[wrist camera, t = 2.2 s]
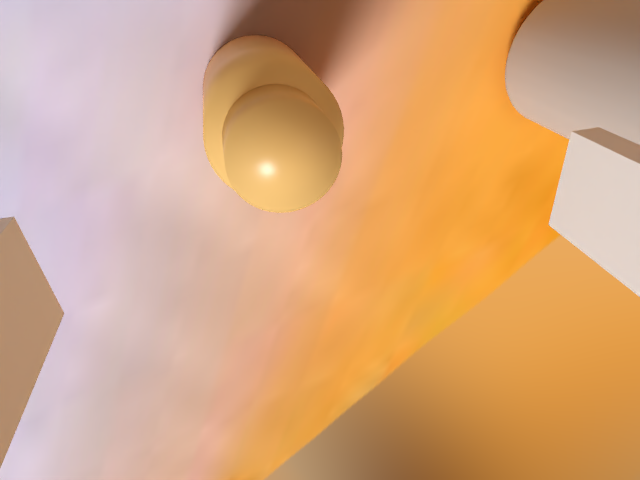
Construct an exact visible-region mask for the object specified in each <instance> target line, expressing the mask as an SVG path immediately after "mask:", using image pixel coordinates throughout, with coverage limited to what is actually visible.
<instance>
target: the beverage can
mask: <svg viewBox="0 0 640 480" xmlns="http://www.w3.org/2000/svg"><path fill="white" fill-rule="evenodd" d="M505 84H506V90H507V93H508V96H509V98H510V101H511V103H512V105H513V106H514V107H515V109H516V110H517V111H518V112H519V113H520V114H521V115H523V116H524V117H526V118H527V119H529V120H531V121H533V122H535V123H537V124H539V125H541V126H543V127H545V128H547V129H549V130H551V131H553V132H555V133H557V134H559V135H561V136H564V137H566V138H568V139H570V136H571V132H572V131H577V130H583V129H590V128H596V127H600V128H602V129H604V130H607V131H609V132H611V133H613V134H616V135H618V136H620V137H623V138H625V139H627V140H630V141H632V142H634V143H636V144H639V145H640V0H543V1H542V2H541V3H540V4H539V5H538V6H537V7H536V8H535V9H534V10H533V11H532V12H531V13H530V14H529V16H528V17H527V18H526V19H525V21H524V22H523V24H522V25H521V27H520V28H519V30H518V32H517V34H516V36H515V38H514V40H513V42H512V45H511V47H510V50H509V53H508V57H507V62H506V69H505Z"/></svg>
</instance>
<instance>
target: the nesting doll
mask: <svg viewBox="0 0 640 480" xmlns="http://www.w3.org/2000/svg"><path fill="white" fill-rule="evenodd" d="M343 137H344V126H343V118H342V114H341V110H340V108H339V105H338V103H337V101H336V99H335V97H334V96H333V94H332V93H331V91H330V90H329V89H328V87H327V86H326V85H325V84H324V83H323V82H322V81H321V80H320V79H319V78H318V77H317V76H316V75H315V74H314V72H313V71H312V70H311V69H310V68H309V67H308V66H307V65H306V64H305V63H304V62H303V61H302V60H301V59H300V57H299V56H298V55H297V54H296V53H295V52H294V51H293V50H292V49H291V48H290V47H288V46H287V45H286V44H284V43H282V42H281V41H279V40H277V39H274V38H272V37H268V36H263V35H248V36H242V37H239V38H236V39H234V40H232V41H230V42H228V43H227V44H225V45H224V46H222V47H221V48H220V49H219V50H218V51H217V52H216V53H215V55H214V56H213V57H212V59H211V60H210V62H209V64H208V66H207V69H206V71H205V75H204V80H203V140H204V146H205V151H206V154H207V157H208V160H209V162H210V164H211V166H212V168H213V169H214V171H215V172H216V174H217V175H218V176H219V177H220V178H221V180H222V181H223V182H225V183H226V184H227V185H228V186H229V187H231V188H232V189H233V190H235V191H236V192H237V194H238V195H239V196H240V197H241V198H242V199H243V200H245V201H246V202H248V203H249V204H251V205H252V206H254V207H256V208H259V209H262V210H265V211H269V212H277V213H284V212H292V211H296V210H300V209H303V208H305V207H307V206H309V205H311V204H313V203H315V202H316V201H318V200H319V199H320V198H321V197H323V196H324V195H325V194H326V193H327V192H328V190H329V189H330V188H331V186H332V185H333V183H334V182H335V180H336V178H337V176H338V173H339V170H340V167H341V161H342V144H343Z"/></svg>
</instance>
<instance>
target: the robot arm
mask: <svg viewBox="0 0 640 480" xmlns="http://www.w3.org/2000/svg"><path fill="white" fill-rule="evenodd" d="M549 226H551V227H552V228H553V229H554V230H556V231H557V232H558V233H560V234H561V235H562V236H563V237H565V238H566V239H567V240H569V241H570V242H571V243H572V244H573V245H575V246H576V247H577V248H579V249H580V250H581V251H582V252H584V253H585V254H586V255H587V256H589V257H590V258H591V259H593V260H594V261H595V262H596V263H598V264H599V265H600V266H601V267H603V268H604V269H605V270H606V271H608V272H609V273H610V274H611V275H613V276H614V277H615V278H617V279H618V280H619V281H620V282H622V283H623V284H624V285H626V286H627V287H628V288H629V289H631V290H632V291H633V292H634V293H636V294H637V295H638V296H639V297H640V145H639V144H636V143H634V142H632V141H630V140H627V139H625V138H623V137H620V136H618V135H616V134H613V133H611V132H609V131H607V130H604V129H602V128H600V127H596V128H590V129H583V130H577V131H572V132H571V136H570V140H569V144H568V148H567V152H566V156H565V160H564V164H563V168H562V172H561V176H560V181H559V185H558V189H557V193H556V197H555V201H554V205H553V209H552V213H551V217H550V221H549ZM63 315H64V312H63V310H62V308H61V306H60V304H59V303H58V301H57V299H56V297H55V295H54V293H53V291H52V289H51V287H50V285H49V283H48V281H47V279H46V277H45V276H44V274H43V272H42V270H41V268H40V266H39V264H38V262H37V260H36V258H35V256H34V254H33V252H32V250H31V249H30V247H29V245H28V243H27V241H26V239H25V237H24V235H23V233H22V231H21V229H20V227H19V225H18V224H17V222H16V220H15V218H14V217H8V218H2V219H0V468H1V465H2V463H3V460H4V458H5V455H6V453H7V451H8V448H9V446H10V443H11V441H12V438H13V436H14V434H15V431H16V429H17V426H18V424H19V422H20V419H21V417H22V414H23V412H24V409H25V407H26V405H27V402H28V400H29V397H30V395H31V392H32V390H33V388H34V385H35V383H36V380H37V378H38V375H39V373H40V371H41V368H42V366H43V363H44V361H45V358H46V356H47V354H48V351H49V349H50V346H51V344H52V342H53V339H54V337H55V334H56V332H57V329H58V327H59V325H60V322H61V320H62V317H63Z"/></svg>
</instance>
